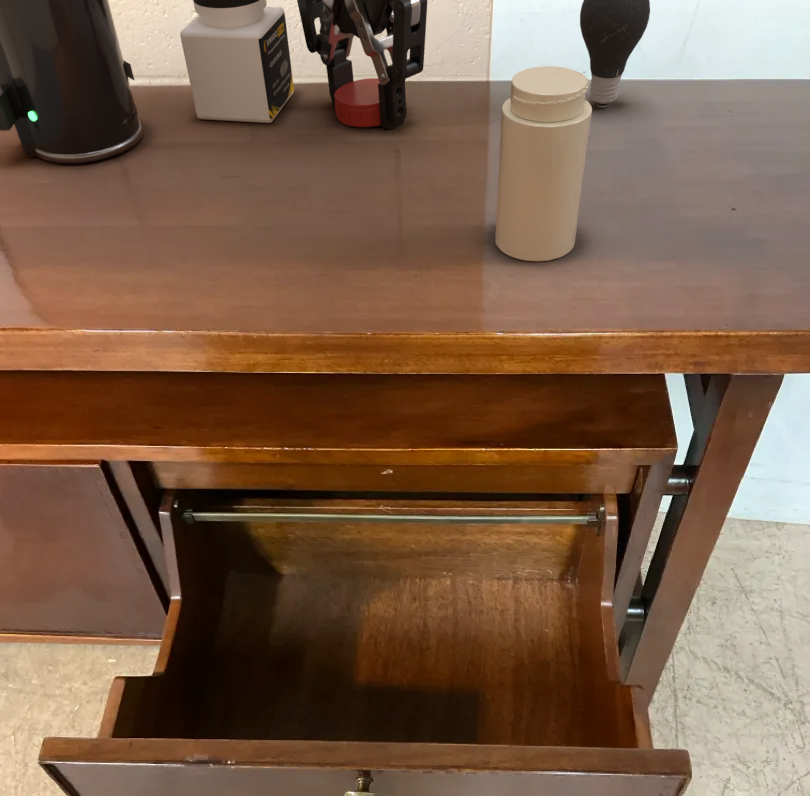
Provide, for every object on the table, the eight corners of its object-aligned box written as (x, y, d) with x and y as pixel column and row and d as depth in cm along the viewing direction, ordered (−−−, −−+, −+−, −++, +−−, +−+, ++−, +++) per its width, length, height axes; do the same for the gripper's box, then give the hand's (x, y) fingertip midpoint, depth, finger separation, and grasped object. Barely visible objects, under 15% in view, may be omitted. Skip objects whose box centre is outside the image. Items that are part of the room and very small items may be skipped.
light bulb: (648, 107, 74) (671, -26, 66) (600, 124, 72) (619, -11, 64) (603, 88, 77) (621, -41, 69) (557, 103, 75) (569, -28, 67)
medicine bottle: (272, 124, 74) (249, -36, 65) (196, 120, 75) (163, -38, 66) (295, 92, 79) (276, -61, 70) (223, 89, 80) (196, -63, 71)
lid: (371, 94, 77) (369, 72, 76) (416, 109, 74) (414, 87, 73) (323, 116, 75) (320, 94, 73) (367, 133, 72) (365, 111, 70)
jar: (509, 267, 57) (520, 103, 49) (485, 227, 61) (491, 69, 53) (587, 254, 58) (610, 91, 50) (558, 216, 61) (575, 58, 53)
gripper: (452, -120, 60) (455, 123, 73) (323, -139, 67) (346, 85, 80) (375, -97, 57) (392, 153, 69) (249, -120, 64) (285, 110, 77)
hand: (368, 115), depth 75 cm, fingers closed on lid, 6 cm apart
